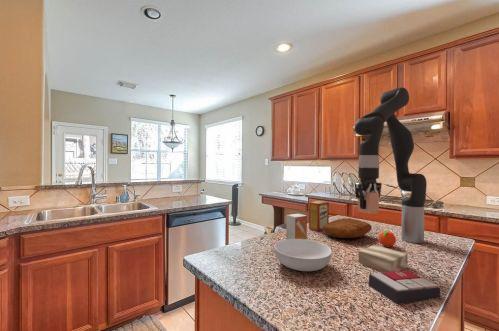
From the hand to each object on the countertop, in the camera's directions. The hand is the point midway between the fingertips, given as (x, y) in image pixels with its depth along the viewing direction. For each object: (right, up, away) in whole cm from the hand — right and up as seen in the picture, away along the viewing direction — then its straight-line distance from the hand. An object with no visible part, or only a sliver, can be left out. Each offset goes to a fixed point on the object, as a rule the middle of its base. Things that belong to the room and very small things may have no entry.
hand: (368, 208), depth 97 cm
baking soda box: (-8, -20, +42) cm, 47 cm away
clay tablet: (+3, -20, +28) cm, 34 cm away
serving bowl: (-29, -20, -8) cm, 36 cm away
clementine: (+15, -20, +12) cm, 28 cm away
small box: (-25, -20, +19) cm, 37 cm away
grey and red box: (-3, -21, -26) cm, 33 cm away
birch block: (+2, -20, -7) cm, 22 cm away
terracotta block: (0, -2, 0) cm, 2 cm away
